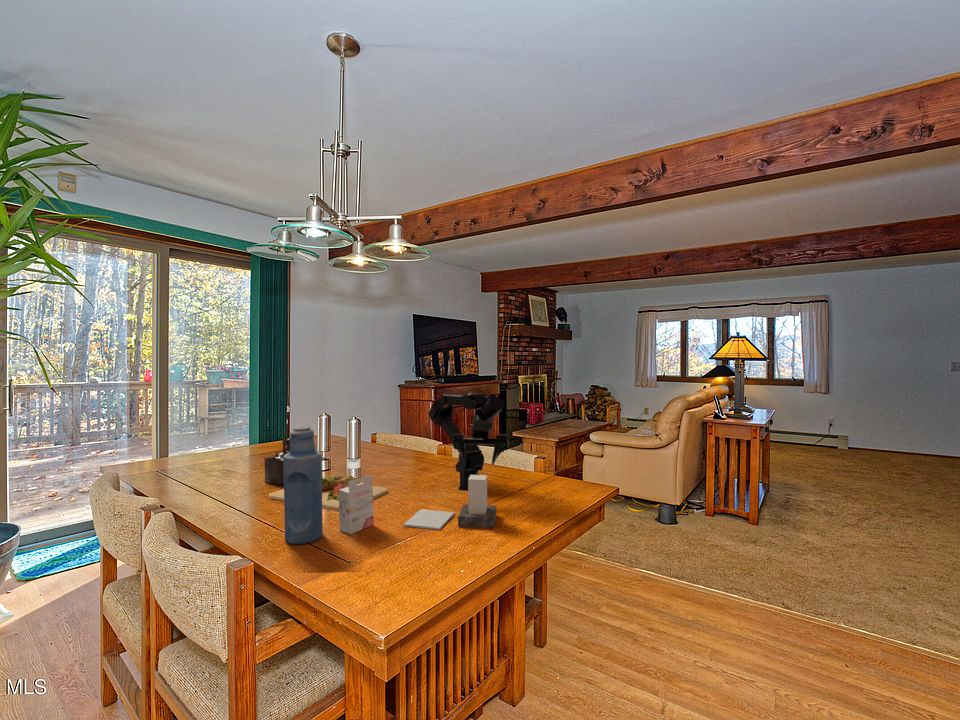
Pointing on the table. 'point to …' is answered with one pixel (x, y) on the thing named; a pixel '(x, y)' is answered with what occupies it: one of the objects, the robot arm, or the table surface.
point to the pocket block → (477, 518)
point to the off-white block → (477, 494)
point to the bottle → (302, 488)
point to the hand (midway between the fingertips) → (478, 463)
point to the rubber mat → (429, 519)
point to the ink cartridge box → (356, 505)
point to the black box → (276, 465)
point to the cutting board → (332, 491)
